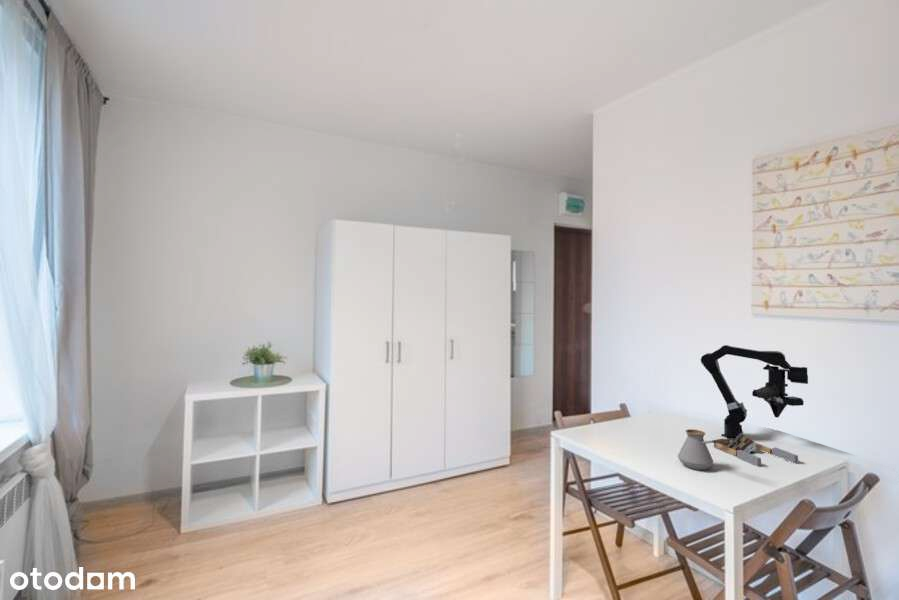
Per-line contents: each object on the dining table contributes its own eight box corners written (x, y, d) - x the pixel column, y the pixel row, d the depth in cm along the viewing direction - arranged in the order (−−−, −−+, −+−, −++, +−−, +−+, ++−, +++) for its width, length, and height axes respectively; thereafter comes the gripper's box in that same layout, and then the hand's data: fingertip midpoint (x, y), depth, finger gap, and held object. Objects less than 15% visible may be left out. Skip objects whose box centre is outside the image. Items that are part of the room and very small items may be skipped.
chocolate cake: (742, 458, 166) (760, 436, 168) (724, 448, 172) (741, 426, 174) (746, 469, 171) (763, 447, 173) (728, 458, 177) (745, 437, 179)
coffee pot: (670, 462, 161) (670, 423, 161) (693, 458, 164) (693, 420, 164) (722, 485, 140) (723, 441, 140) (747, 481, 144) (747, 437, 144)
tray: (714, 447, 177) (714, 442, 177) (748, 444, 180) (748, 440, 180) (736, 456, 167) (736, 451, 167) (772, 454, 170) (772, 449, 170)
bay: (737, 457, 165) (737, 450, 165) (775, 454, 169) (775, 447, 169) (757, 466, 157) (757, 458, 157) (798, 463, 160) (798, 455, 160)
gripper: (741, 377, 188) (741, 412, 188) (781, 385, 169) (781, 424, 169) (763, 376, 190) (762, 411, 190) (804, 385, 171) (804, 423, 171)
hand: (776, 417), depth 180 cm, fingers closed
